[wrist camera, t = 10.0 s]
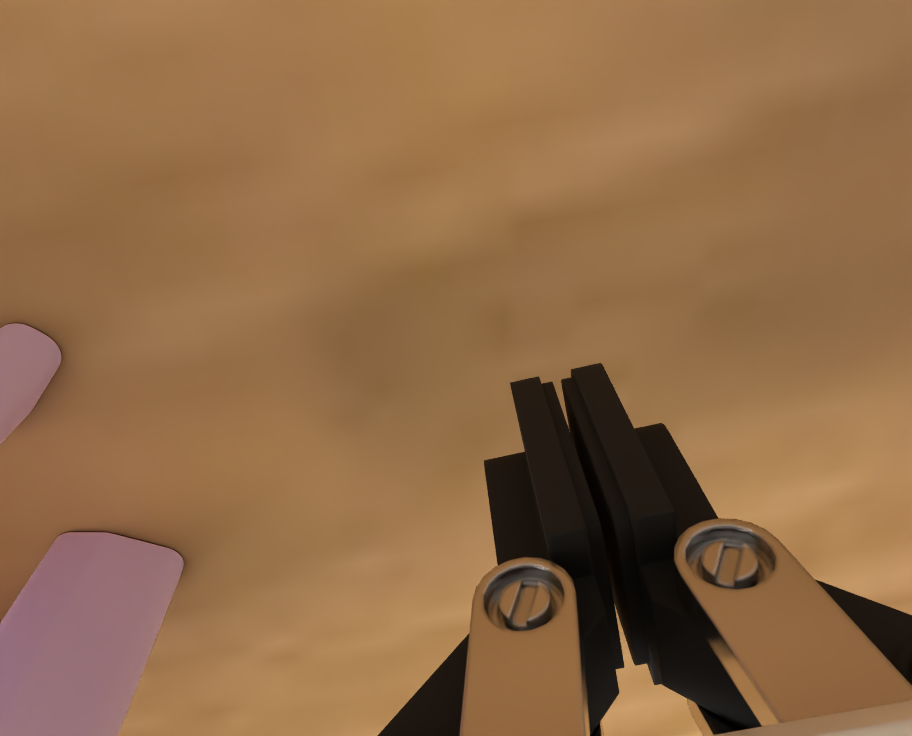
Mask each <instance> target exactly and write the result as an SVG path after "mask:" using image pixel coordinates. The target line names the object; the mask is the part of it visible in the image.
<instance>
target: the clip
mask: <svg viewBox="0 0 912 736" xmlns="http://www.w3.org/2000/svg"><path fill="white" fill-rule="evenodd" d="M61 358H62V357H61V352H60V349H59V347H58V346H57V344H56V343H55V342H54V341H53V340H52V339H51V338H49V337H48V336H46V335H45V334H43V333H41V332H39V331H38V330H36V329H34V328H32V327H30V326H28V325H24V324H18V323H13V324H8V325H5V326H3V327H2V328H0V444H1V443H2V442H3V441H4V440H5V439H6V438H7V437H8V436H9V435H10V434H11V433H12V432H13V430H14V429H15V428H16V427H17V426H18V425H19V424H20V423H21V422H22V421H23V420H24V419H25V418H26V417H27V416H28V414H29V413H30V412H31V411H32V410H33V408H34V406H35V405H36V403H37V402H38V400H39V398H40V397H41V395H42V393H43V392H44V390H45V389H46V387H47V385H48V384H49V382H50V381H51V379H52V377H53V376H54V374H55V372H56V371H57V369H58V368H59V366H60V363H61ZM183 567H184V562H183V559H182V557H181V556H180V555H179V554H178V553H177V552H176V551H174V550H172V549H169V548H166V547H162V546H158V545H155V544H151V543H147V542H143V541H139V540H135V539H131V538H127V537H123V536H119V535H116V534H112V533H106V532H69V533H64V534H61V535H59V536H58V537H57V538H56V539H55V541H54V542H53V544H52V545H51V547H50V548H49V550H48V551H47V553H46V554H45V556H44V557H43V559H42V560H41V562H40V563H39V565H38V566H37V568H36V569H35V571H34V573H33V574H32V576H31V577H30V579H29V580H28V582H27V583H26V585H25V586H24V588H23V589H22V591H21V592H20V594H19V595H18V597H17V598H16V600H15V601H14V603H13V604H12V606H11V607H10V609H9V611H8V612H7V614H6V615H5V617H4V618H3V620H2V621H1V623H0V736H118V735H119V732H120V730H121V727H122V725H123V722H124V719H125V717H126V714H127V712H128V709H129V707H130V704H131V701H132V699H133V696H134V694H135V691H136V689H137V686H138V683H139V681H140V678H141V676H142V673H143V671H144V668H145V666H146V663H147V660H148V658H149V655H150V653H151V650H152V648H153V645H154V642H155V640H156V637H157V635H158V632H159V630H160V627H161V625H162V622H163V619H164V617H165V614H166V612H167V609H168V607H169V604H170V601H171V599H172V596H173V594H174V591H175V589H176V586H177V584H178V581H179V578H180V576H181V573H182V570H183Z"/></svg>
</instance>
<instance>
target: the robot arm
mask: <svg viewBox="0 0 912 736" xmlns="http://www.w3.org/2000/svg"><path fill="white" fill-rule="evenodd" d="M561 383H562V390H563V395H564V401H565V407H566V412H567V418H568V424H569V429H568V426H567V423H566V420H565V417H564V414H563V411H562V408H561V405H560V402H559V399H558V396H557V394H556V391H555V388H554V385H553V382H548V383H543V384H541V381H540V378H539V377H534V378H529V379H525V380H520V381H516V382H511V383H510V385H511V390H512V394H513V399H514V403H515V408H516V413H517V417H518V422H519V426H520V431H521V435H522V440H523V444H524V449H525V452H522V453H517V454H512V455H508V456H503V457H498V458H493V459H489V460H484V467H485V474H486V482H487V489H488V497H489V504H490V511H491V519H492V526H493V534H494V541H495V549H496V556H497V563H498V566H496V567H495V568H493V569H492V570H491V571H490V572H488V573H487V574H486V575H485V576H484V577H483V578H482V580H481V581H480V583H479V584H478V586H477V587H476V590H475V594H474V597H473V602H472V612H471V622H470V633H469V634H468V635H467V636H466V638H465V639H464V640H463V641H462V642H461V643H460V644H459V645H458V646H457V648H456V649H455V650H454V651H453V652H452V653H451V654H450V655H449V657H448V658H447V659H446V660H445V661H444V662H443V663H442V664H441V665H440V667H439V668H438V669H437V670H436V671H435V672H434V673H433V674H432V676H431V677H430V678H429V679H428V680H427V681H426V682H425V683H424V684H423V686H422V687H421V688H420V689H419V690H418V691H417V692H416V693H415V695H414V696H413V697H412V698H411V699H410V700H409V701H408V702H407V703H406V705H405V706H404V707H403V708H402V709H401V710H400V711H399V712H398V714H397V715H396V716H395V717H394V718H393V719H392V720H391V721H390V722H389V724H388V725H387V726H386V727H385V728H384V729H383V730H382V731H381V733H380V734H379V735H378V736H604V732H603V727H602V722H601V720H602V718H603V717H604V715H605V714H606V712H607V711H608V709H609V708H610V706H611V705H612V703H613V702H614V700H615V699H616V697H617V696H618V694H619V688H618V682H617V676H616V670H615V669H619V668H624V661H623V655H622V649H621V643H620V636H619V630H618V624H617V618H616V611H615V606H616V610H617V613H618V616H619V619H620V622H621V625H622V628H623V631H624V635H625V638H626V641H627V644H628V647H629V650H630V653H631V656H632V659H633V662H634V664H635V666H636V665H641V664H646V663H647V665H648V668H649V671H650V674H651V676H652V679H653V682H654V685H658V684H662V685H664V686H665V687H667V688H669V689H671V690H673V691H675V692H676V693H678V694H680V695H682V696H684V697H686V698H687V704H688V706H689V709H690V712H691V714H692V717H693V719H694V720H695V722H696V724H697V726H698V728H699V729H700V731H701V733H702V735H703V736H912V615H909V614H907V613H904V612H901V611H899V610H896V609H893V608H891V607H888V606H885V605H882V604H880V603H877V602H874V601H872V600H869V599H866V598H864V597H861V596H858V595H855V594H853V593H850V592H847V591H845V590H842V589H839V588H837V587H834V586H831V585H828V584H826V583H823V582H820V581H818V580H815V579H814V578H813V577H812V576H811V575H810V574H809V573H808V571H807V570H806V569H805V568H804V567H803V566H802V565H801V564H800V563H799V562H798V561H797V559H796V558H795V557H794V556H793V555H792V554H791V553H790V552H789V551H788V550H787V548H786V547H785V546H784V545H783V544H782V543H781V542H780V541H779V540H778V539H777V538H776V537H775V536H773V535H772V534H771V533H770V532H768V531H767V530H766V529H763V528H761V527H759V526H757V525H755V524H753V523H750V522H746V521H742V520H737V519H719V518H718V517H717V515H716V513H715V511H714V510H713V508H712V506H711V504H710V503H709V501H708V499H707V497H706V496H705V494H704V492H703V491H702V489H701V487H700V485H699V484H698V482H697V480H696V478H695V477H694V475H693V473H692V471H691V470H690V468H689V466H688V464H687V463H686V461H685V459H684V457H683V456H682V454H681V452H680V450H679V449H678V447H677V445H676V443H675V442H674V440H673V438H672V436H671V435H670V433H669V431H668V429H667V428H666V427H665V425H664V424H662V423H659V424H654V425H649V426H645V427H640V428H635V429H634V428H633V425H632V423H631V421H630V419H629V417H628V415H627V413H626V411H625V409H624V407H623V405H622V403H621V401H620V399H619V397H618V395H617V393H616V391H615V389H614V387H613V385H612V383H611V381H610V379H609V377H608V375H607V373H606V371H605V369H604V367H603V365H602V364H601V363H598V364H593V365H589V366H584V367H580V368H575V369H571V378H566V379H562V380H561ZM569 430H570V432H569ZM614 603H615V605H614Z"/></svg>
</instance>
